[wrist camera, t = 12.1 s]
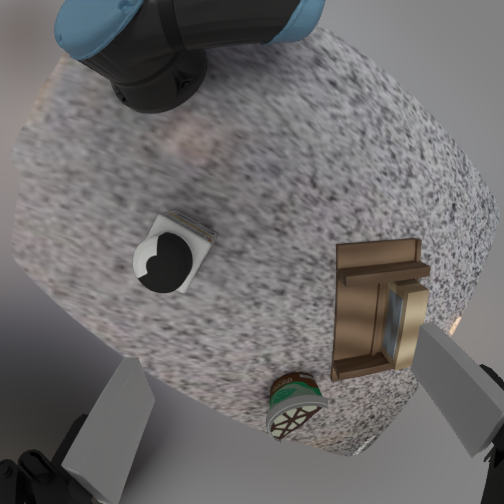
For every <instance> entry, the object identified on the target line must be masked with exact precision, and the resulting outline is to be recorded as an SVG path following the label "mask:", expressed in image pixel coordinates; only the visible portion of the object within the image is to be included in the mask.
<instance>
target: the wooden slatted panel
mask: <svg viewBox="0 0 504 504" xmlns="http://www.w3.org/2000/svg"><path fill="white" fill-rule="evenodd" d="M421 241H422V240H420V239H417V238H412V239H398V240H385V241H372V242H359V243H346V244H336V305H335V327H334V343H333V357H332V368H331V381H338V380H344V379H349V378H355V377H360V376H365V375H369V374H374V373H378V372H383V371H387V370H391V369H393V367H392V366H391V365H390V363H389V362H388V360H387V359H386V358H385V356H384V355H383V353H382V352H381V351H380V342H381V336H382V329H383V321H384V313H385V305H386V295H387V283H388V282H393V281H400V280H407V279H414V280H415V281H417V282H418V279H419V278H421V277H427V276H429V275H430V266H428V265H426V264H424V263H422V262H421V261H420V257H421ZM402 369H403V368H402ZM399 370H401V369H399Z"/></svg>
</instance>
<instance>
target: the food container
mask: <svg viewBox="0 0 504 504" xmlns="http://www.w3.org/2000/svg"><path fill="white" fill-rule="evenodd" d="M327 406H328V398H325V397H323V396H322V394H321V392H320V390H319V388H318V386H317V384H316V382H315V380H314V378H313V376H312V375H310V374H308V373H303V372H294V373H289V374H286V375H283V376H281V377H280V378H278V379H277V380H276V381H275V382H274V383H273V385H272V387H271V391H270V412H269V413H268V415H267V417H266V427H267V429H268V432H269V434H270V436H271V437H272V438H273V439H274V440H275V441H277V442H278V443H281V439H282V438H284V437H285V436H286V435H287V434H289V433H290V432H292V431H293V430H295V429H297V428H299V427H300V426H302V425H303V424H304V423H305V422H306V421H308V420H309V419H310V418H311V417H312V416H313V415H314V414H315V413H316V412H318V411H319V410H320V409H321V408H323V407H324V408H327V409H328V407H327Z"/></svg>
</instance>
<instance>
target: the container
mask: <svg viewBox="0 0 504 504" xmlns="http://www.w3.org/2000/svg"><path fill="white" fill-rule="evenodd" d="M216 237H217V233H216V232H214V231H212V230H210V229H209V228H207V227H205V226H203V225H202V224H200V223H198V222H196V221H194V220H193V219H191V218H189V217H187V216H186V215H184V214H182V213H180V212H179V211H177V210H175V209H174V210H171V211H168V212H165V213H162V214H159V215H158V216H157V217H156V219H155V221H154V224H153V226H152V228H151V230H150V232H149V234H148V236H147V238H146V239H145V240H144V241H142V242H141V243H140V244H139V245H138V247H137V248H136V250H135V253H134V257H133V267H134V271H135V274H136V276H137V278H138V279H139V281H140V282H141V283H142V284H143V285H144V286H145V287H146V288H148V289H149V290H151V291H154V292H157V293H169V292H172V291H175V290H177V291H179V292H181V293H185V292H186V291H187V289H188V287H189V286H190V284H191V282H192V280H193V279H194V277H195V275H196V274H197V272H198V270H199V268H200V266H201V264H202V263H203V261H204V259H205V257H206V255H207V253H208V252H209V250H210V248H211V246H212V244H213V243H214V241H215V239H216Z"/></svg>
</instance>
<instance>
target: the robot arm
mask: <svg viewBox="0 0 504 504" xmlns="http://www.w3.org/2000/svg"><path fill="white" fill-rule="evenodd" d="M324 4H325V0H65V2H64V3H63V5H62V7H61V9H60V11H59V13H58V15H57V18H56V21H55V26H54V35H55V39H56V42H57V43H58V45H59V46H60V47H61V48H63V49H64V50H65V51H66V52H68V53H69V55H70V56H71V57H72V58H73V59H75V60H78V61H79V62H81V63H83V64H84V65H86V66H88V67H89V68H91V69H93V70H94V71H96V72H98V73H99V74H101V75H102V76H104V77H106V78H107V79H109V80H110V82H111V84H112V87H113V90H114V92H115V94H116V96H117V97H118V99H119V100H120V101H121V102H122V103H123V104H125V105H126V106H128V107H130V108H131V109H133V110H135V111H138V112H142V113H160V112H164V111H167V110H170V109H172V108H175V107H177V106H178V105H180V104H182V103H183V102H185V101H186V100H187V99H188V98H190V97H191V96H192V95H193V94H194V93H195V91H196V90H197V89H198V88H199V86H200V85H201V83H202V81H203V79H204V76H205V73H206V69H207V58H206V54H205V51H204V49H207V48H214V47H222V46H231V45H242V44H257V43H260V44H261V45H269V44H272V43H279V42H296V41H300V40H301V39H303V38H305V37H307V36H308V35H309V34H310V33H311V32H312V31H313V30H314V28H315V27H316V25H317V23H318V21H319V19H320V17H321V14H322V11H323V8H324ZM410 370H411V371H412V373H413V374H414V375H415V377H416V378H417V379H418V381H419V382H420V383H421V385H422V386H423V387H424V389H425V390H426V392H427V393H428V394H429V396H430V397H431V399H432V400H433V401H434V403H435V404H436V406H437V407H438V408H439V410H440V411H441V413H442V414H443V416H444V417H445V418H446V420H447V422H448V423H449V425H450V426H451V427H452V429H453V430H454V432H455V433H456V435H457V436H458V438H459V440H460V441H461V443H462V444H463V446H464V447H465V449H466V450H467V452H468V453H469V455H470V457H471V458H472V459H473V458H474V457H476V456H478V455H479V454H480V453H482V452H484V451H485V450H486V449H487V447H488V446H489V445H490V443H491V442H493V444H494V447H493V448H492V449H491V450H490V452H489V453H488V454H487V456H486V457H485V459H484V462H486V460H487V459H488V458H489V457H490V456H491V457H490V460H489V462H490V464H489V470H488V475H487V479H486V484H485V488H484V492H483V496H482V500H481V504H504V382H503V380H502V379H501V378H500V377H498V375H497V374H496V373H495V372H494V371H493V370H492V369H491V368H489V367H487V366H485V365H483V364H481V365H478V364H477V363H475V361H474V360H473V359H472V358H471V357H470V356H469V355H468V354H467V353H466V352H464V351H463V350H462V349H461V348H460V347H459V346H458V345H457V344H456V343H455V342H454V341H453V340H452V339H451V338H450V337H448V336H447V335H446V334H445V333H444V332H443V331H442V330H441V329H440V328H439V327H438V326H436V325H435V324H434V323H433V322H429V323H425V324H422V325H420V328H419V333H418V338H417V343H416V348H415V352H414V357H413V361H412V365H411V369H410ZM154 402H155V398H154V396H153V394H152V391H151V389H150V387H149V384H148V382H147V379H146V377H145V374H144V372H143V369H142V366H141V364H140V361H139V358H130V357H124V358H123V360H122V362H121V363H120V365H119V366H118V368H117V369H116V371H115V373H114V374H113V376H112V378H111V379H110V381H109V382H108V384H107V386H106V387H105V389H104V391H103V392H102V394H101V395H100V397H99V399H98V400H97V402H96V404H95V406H94V407H93V409H92V411H91V412H90V414H89V415H86V414H82V415H81V416H80V417H79V418H77V419H76V420H75V421H74V423H73V424H72V426H71V428H70V431H68V433H67V434H66V436H65V437H66V438H64V439H63V441H62V443H61V444H60V446H59V448H58V450H57V451H56V453H55V455H54V457H53V458H52V461H51V462H50V461H49V460H48V459H47V458H46V457H45V456H44V455H43V454H42V453H41V452H40V451H38V450H28V451H26V452H24V453H23V454H22V455H21V456H20V458H19V459H18V466H17V465H16V463H14V462H13V461H12V460H9V459H5V460H2V461H0V504H24V503H25V504H93V503H92V502H91V499H92V497H95V498H96V499H97V500H98V501H99V502H101V503H104V504H118V503H119V500H120V497H121V494H122V491H123V488H124V485H125V482H126V479H127V476H128V473H129V470H130V468H131V465H132V462H133V459H134V456H135V453H136V451H137V448H138V445H139V442H140V439H141V437H142V434H143V431H144V429H145V426H146V423H147V421H148V418H149V415H150V413H151V410H152V407H153V405H154Z"/></svg>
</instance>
